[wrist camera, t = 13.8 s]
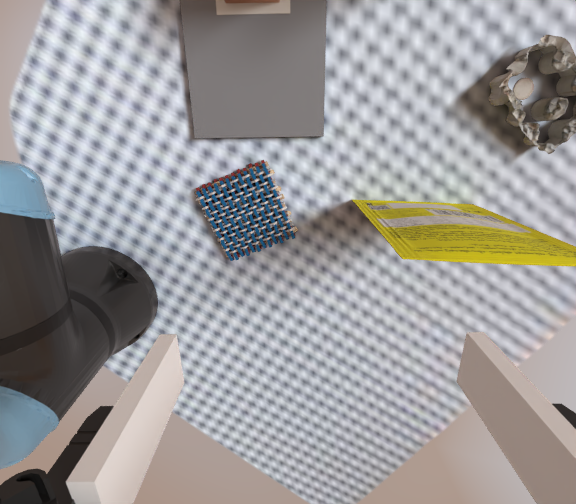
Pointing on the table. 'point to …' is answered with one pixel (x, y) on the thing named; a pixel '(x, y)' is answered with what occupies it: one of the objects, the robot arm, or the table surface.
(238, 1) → the maple block
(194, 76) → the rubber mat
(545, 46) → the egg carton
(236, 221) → the woven mat
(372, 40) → the table surface
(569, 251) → the food package
